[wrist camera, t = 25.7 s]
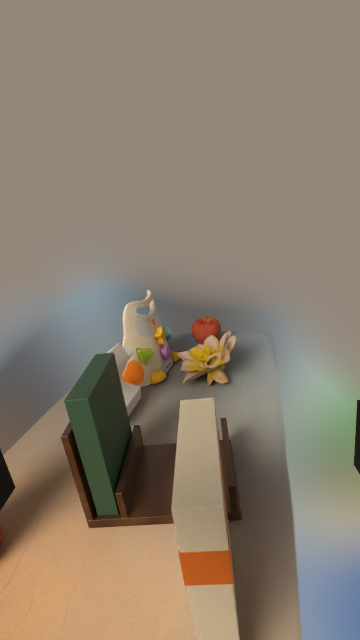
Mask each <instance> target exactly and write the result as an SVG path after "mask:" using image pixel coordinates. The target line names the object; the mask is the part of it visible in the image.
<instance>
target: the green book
mask: <svg viewBox="0 0 360 640" xmlns="http://www.w3.org/2000/svg"><path fill="white" fill-rule="evenodd" d="M64 402H65V406H66V409H67V412H68V416H69V419H70V423H71V426H72V429H73V433H74V436H75V440H76V443H77V446H78V450H79V453H80V457H81V460H82V463H83V467H84V470H85V474H86V477H87V480H88V484H89V487H90V491H91V494H92V497H93V501H94V504H95V508H96V511H97V514H98V516H104V515H119V512H120V511H119V507H118V503H117V499H116V495H115V492H116V489H117V485H118V482H119V478H120V475H121V471H122V468H123V464H124V461H125V457H126V453H127V450H128V446H129V443H130V439H131V436H132V431H131V427H130V422H129V418H128V413H127V409H126V404H125V400H124V395H123V391H122V386H121V382H120V377H119V373H118V368H117V364H116V359H115V355H114V353H105V354H97V355H95V356H94V358H93V359H92V361H91V362H90V363H89V365H88V366H87V368H86V369H85V371H84V372H83V374H82V375H81V377H80V378H79V380H78V381H77V383H76V384H75V386H74V387H73V389H72V390H71V392H70V393H69V394H68V396H67V397H66V399H65V400H64Z"/></svg>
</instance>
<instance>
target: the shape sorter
mask: <svg viewBox="0 0 360 640" xmlns="http://www.w3.org/2000/svg"><path fill="white" fill-rule="evenodd" d="M148 305H149V307H150V313H149V314H148V315H141V314H137V312H136V309H137V308H143V307H147V306H148ZM123 329H124V338H123V343H122V347H123V348H124V349H125V348H126V347H128V348H129V349H131V350H132V351H133V352H134V353H133V354H132V356H131V358H130V359H129V360H128V362H127V364H126V367H125V370H124V372H123V375H122V378H121V381H124V382H127V383H130V384H134V385H137V386H140V387H144V386H147V385H150V384H156V383H159V382H162V381H163V380H165V379H166V377H167V375H166V373H167V372H168V371H169V369H170V368H171V366H172V365H173V361H174V362H176V361H178V360H179V359H180V357H179V356H178V353H177V352H175V351H171V348H170V346H169V345H168V343H167V340H171V333H170V330H169V327H168V326H167V327H163V328H162V324H161V322H160V318H159V315H158V313H157V309H156V306H155V303H154V301H153V298H152V294H151V291H150V290H148V291H147V297H146V298H145V299H144V300H143V301H134V302H131V303H128V304H127V305H126V306H125V308H124V313H123ZM137 348H138V349H137Z"/></svg>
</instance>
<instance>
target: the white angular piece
mask: <svg viewBox="0 0 360 640" xmlns="http://www.w3.org/2000/svg"><path fill="white" fill-rule="evenodd" d="M107 353H114V355H115V359H116V364H117V368H118V373H119V377H120V382H121V386H122V391H123V395H124V400H125V404H126V409H127V413H128V417H129V415H130V414H131V412H132V411H133V409H134V408H135V406H136V405H137V403H138V402H139V400H140V398H141V387H140V386H137V385H134V384H130V383H127V382H124V381H121V378H122V375H123V372H124V370H125V367H126V364H127V362H128V360H129V359H130V358H131V356H132V354H133V353H134V352H133V351H132V350H131V349H129V348H128V347H126V348H125V349H124V348H123V347H122V345H121V344H120V343H119V344H117V345H116V346H115V347H113V348H112V349H111V350H110V351H108V352H107Z"/></svg>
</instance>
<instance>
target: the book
mask: <svg viewBox="0 0 360 640" xmlns="http://www.w3.org/2000/svg"><path fill="white" fill-rule="evenodd" d="M171 510H172V516H173V521H174V526H175V531H176V537H177V542H178V547H179V557H180V563H181V568H182V573H183V578H184V584H185V586H186V589H187V594H188V600H189V605H190V610H191V615H192V621H193V626H194V631H195V637H196V640H240V631H239V621H238V612H237V602H236V592H235V582H234V572H233V562H232V552H231V542H230V533H229V525H228V516H227V507H226V498H225V490H224V480H223V470H222V460H221V450H220V441H219V433H218V429H217V420H216V411H215V403H214V398H203V399H191V400H181V401H180V411H179V423H178V435H177V447H176V459H175V471H174V483H173V495H172V507H171Z"/></svg>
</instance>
